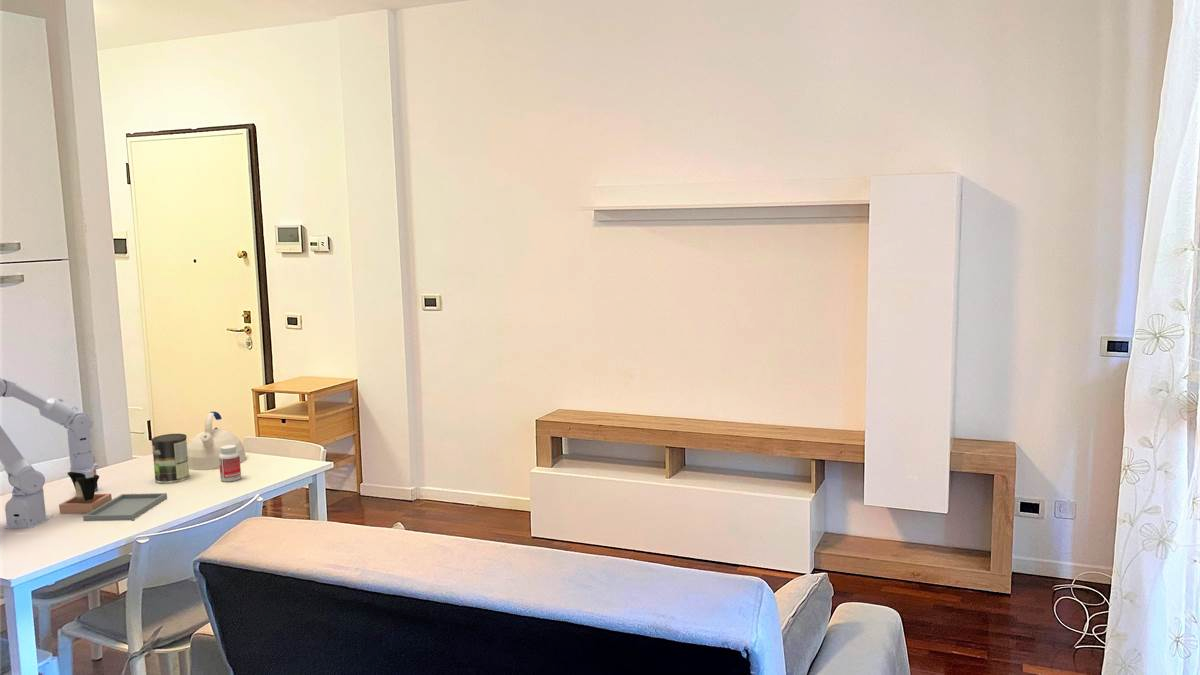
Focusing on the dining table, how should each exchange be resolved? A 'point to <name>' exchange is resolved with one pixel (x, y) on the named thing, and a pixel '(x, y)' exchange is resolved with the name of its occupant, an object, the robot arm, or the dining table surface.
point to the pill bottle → (229, 464)
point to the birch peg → (81, 495)
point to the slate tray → (125, 507)
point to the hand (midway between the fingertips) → (85, 496)
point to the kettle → (211, 446)
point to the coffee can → (170, 458)
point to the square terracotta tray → (84, 504)
